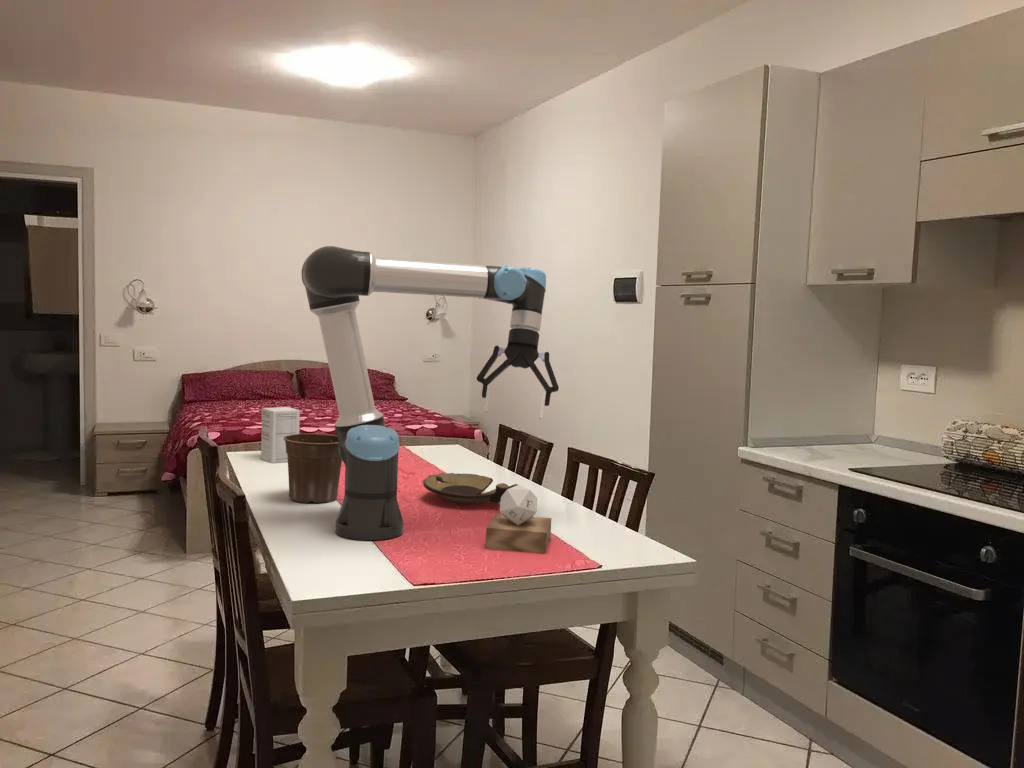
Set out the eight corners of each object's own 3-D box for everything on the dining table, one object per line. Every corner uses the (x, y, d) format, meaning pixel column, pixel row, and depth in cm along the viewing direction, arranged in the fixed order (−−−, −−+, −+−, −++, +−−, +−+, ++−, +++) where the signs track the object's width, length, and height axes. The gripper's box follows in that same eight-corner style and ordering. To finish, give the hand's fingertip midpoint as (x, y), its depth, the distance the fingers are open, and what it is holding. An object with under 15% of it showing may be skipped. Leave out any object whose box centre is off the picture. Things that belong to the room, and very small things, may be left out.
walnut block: (485, 550, 177) (486, 527, 176) (494, 535, 190) (495, 513, 189) (545, 555, 175) (546, 532, 175) (550, 539, 188) (551, 518, 188)
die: (496, 529, 179) (519, 499, 175) (488, 501, 185) (510, 471, 181) (526, 537, 183) (550, 508, 179) (517, 509, 189) (540, 480, 185)
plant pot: (358, 497, 219) (360, 437, 218) (319, 508, 204) (321, 444, 203) (309, 489, 226) (310, 431, 224) (268, 500, 211) (270, 437, 210)
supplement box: (287, 456, 274) (289, 406, 272) (299, 461, 266) (301, 409, 265) (259, 458, 267) (261, 407, 266) (271, 463, 260) (272, 410, 259)
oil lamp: (482, 488, 238) (483, 462, 237) (532, 513, 211) (533, 483, 211) (409, 493, 228) (410, 465, 227) (452, 519, 201) (453, 488, 200)
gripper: (574, 339, 207) (563, 423, 204) (476, 327, 208) (464, 410, 205) (575, 333, 199) (564, 420, 196) (473, 321, 200) (461, 407, 197)
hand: (513, 415), depth 201 cm, fingers open, 13 cm apart
